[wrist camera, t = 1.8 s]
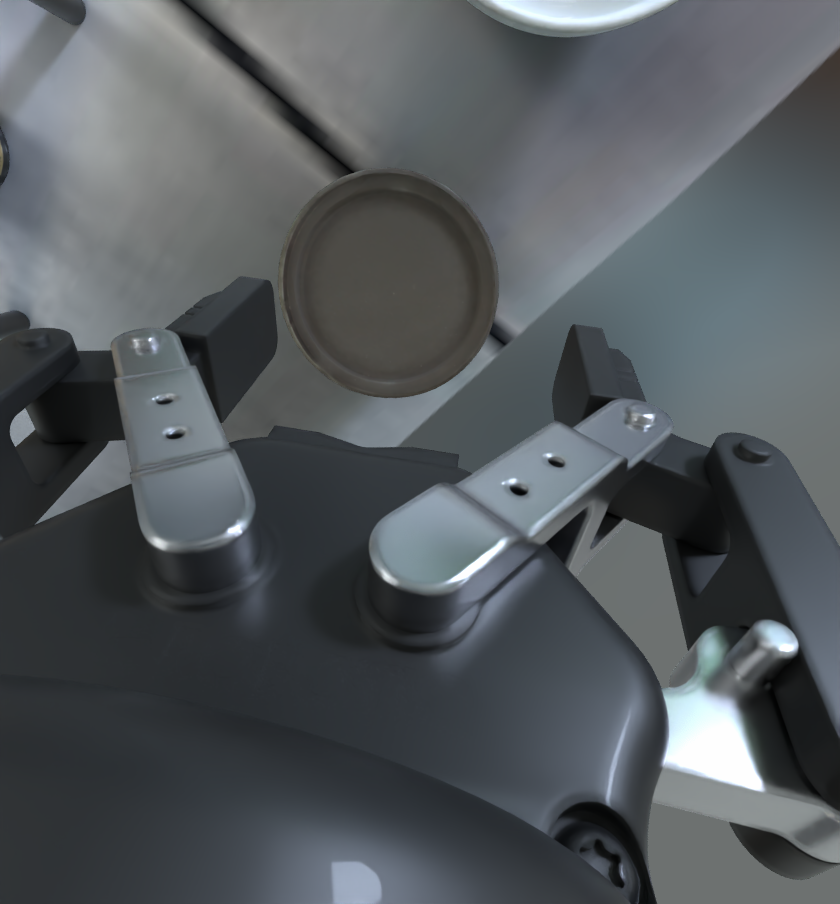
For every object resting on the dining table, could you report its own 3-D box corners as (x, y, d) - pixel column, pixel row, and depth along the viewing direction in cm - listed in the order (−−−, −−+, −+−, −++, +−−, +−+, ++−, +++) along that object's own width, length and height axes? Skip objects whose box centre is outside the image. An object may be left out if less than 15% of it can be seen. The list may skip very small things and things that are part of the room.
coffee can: (416, 151, 34) (419, 111, 21) (494, 287, 37) (538, 324, 24) (294, 245, 36) (229, 260, 23) (379, 364, 40) (364, 435, 27)
